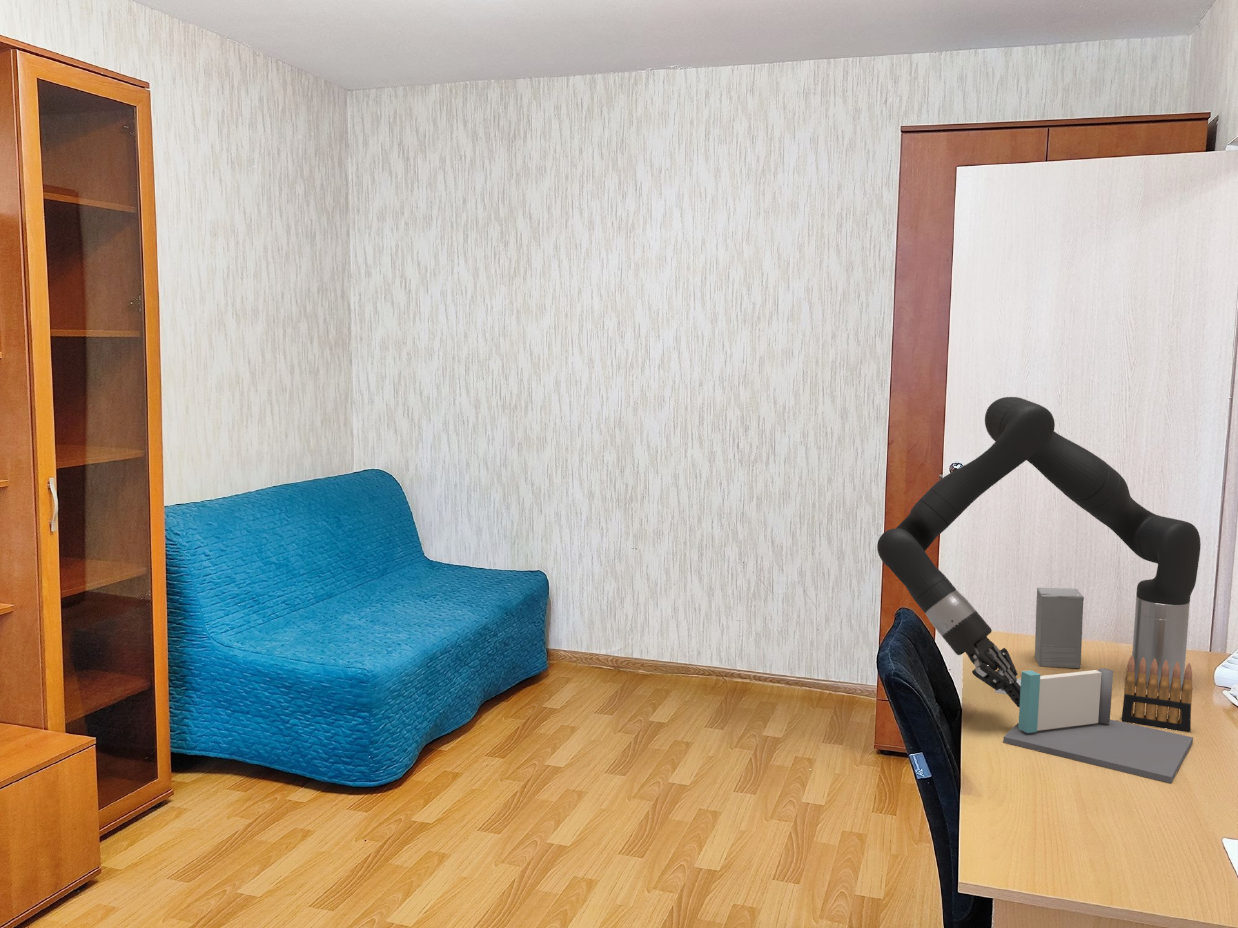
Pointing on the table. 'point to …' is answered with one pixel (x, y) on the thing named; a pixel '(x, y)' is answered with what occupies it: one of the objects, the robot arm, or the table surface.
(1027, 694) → the cream barrier panel
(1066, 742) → the mat
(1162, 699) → the ammunition clip
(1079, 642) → the skincare box
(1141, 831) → the table surface
